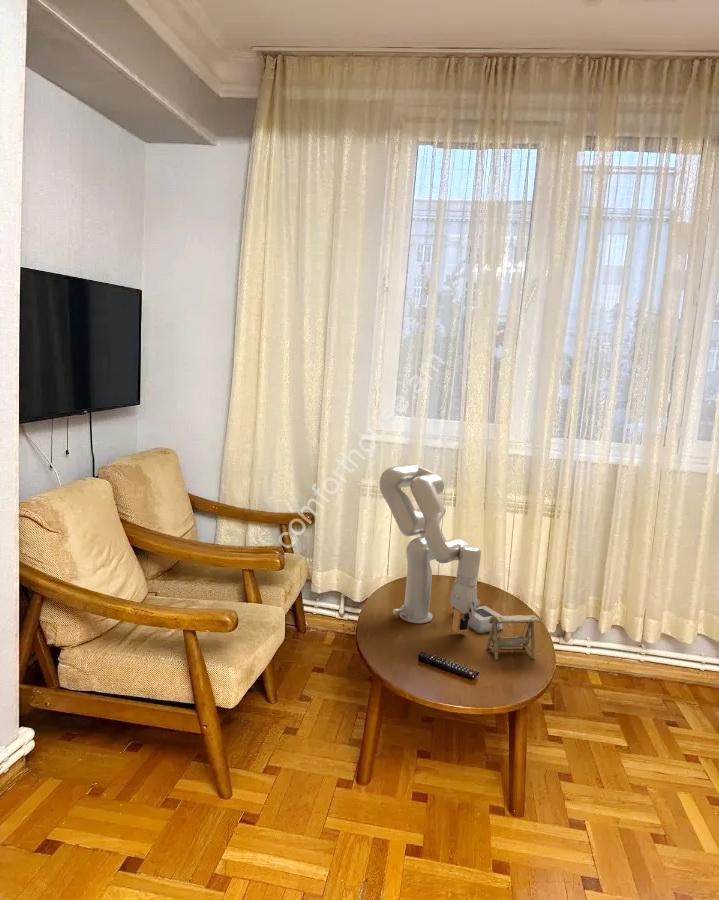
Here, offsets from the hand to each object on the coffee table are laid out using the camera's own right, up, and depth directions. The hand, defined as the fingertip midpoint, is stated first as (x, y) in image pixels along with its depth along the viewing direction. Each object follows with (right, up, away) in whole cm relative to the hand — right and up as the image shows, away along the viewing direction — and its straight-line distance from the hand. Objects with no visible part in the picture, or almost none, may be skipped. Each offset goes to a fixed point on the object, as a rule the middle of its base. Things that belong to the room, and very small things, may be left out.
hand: (460, 626), depth 249 cm
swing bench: (+15, -7, -12) cm, 21 cm away
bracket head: (+7, -1, +14) cm, 16 cm away
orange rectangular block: (0, -1, 0) cm, 1 cm away
